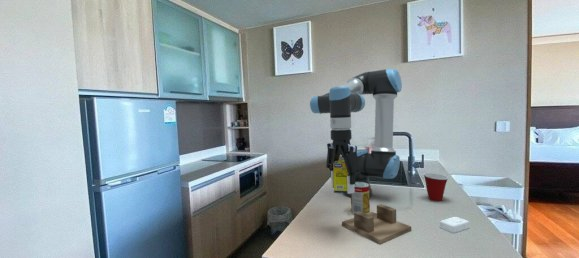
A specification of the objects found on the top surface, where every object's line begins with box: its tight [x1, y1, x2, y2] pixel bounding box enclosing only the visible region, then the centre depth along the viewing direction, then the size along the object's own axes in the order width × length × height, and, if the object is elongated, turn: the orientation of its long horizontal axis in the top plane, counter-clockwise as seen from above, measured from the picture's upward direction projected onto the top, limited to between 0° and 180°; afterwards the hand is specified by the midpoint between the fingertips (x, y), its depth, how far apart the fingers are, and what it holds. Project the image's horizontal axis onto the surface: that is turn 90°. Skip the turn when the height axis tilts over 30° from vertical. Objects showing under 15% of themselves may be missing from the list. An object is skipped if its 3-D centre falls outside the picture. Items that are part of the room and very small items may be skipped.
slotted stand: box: [341, 204, 412, 245], centre depth 97 cm, size 18×17×6 cm
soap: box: [439, 216, 470, 234], centre depth 95 cm, size 9×6×3 cm, turn 114°
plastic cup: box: [423, 172, 450, 202], centre depth 125 cm, size 11×11×12 cm
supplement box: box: [333, 159, 348, 194], centre depth 96 cm, size 6×6×11 cm
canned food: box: [350, 182, 371, 214], centre depth 114 cm, size 8×8×12 cm
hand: (342, 189), depth 96 cm, fingers closed on supplement box, 8 cm apart
